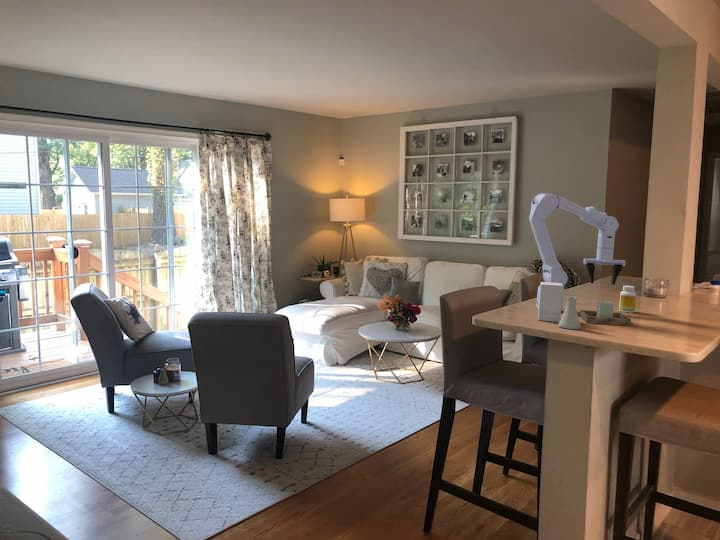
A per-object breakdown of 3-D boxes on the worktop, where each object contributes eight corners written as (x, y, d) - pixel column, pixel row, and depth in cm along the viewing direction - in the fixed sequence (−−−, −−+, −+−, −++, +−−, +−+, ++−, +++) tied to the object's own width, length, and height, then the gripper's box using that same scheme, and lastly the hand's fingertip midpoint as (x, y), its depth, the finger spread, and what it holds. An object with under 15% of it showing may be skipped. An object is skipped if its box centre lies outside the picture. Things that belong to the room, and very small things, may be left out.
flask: (579, 331, 180) (581, 300, 179) (555, 327, 184) (557, 297, 183) (583, 327, 186) (585, 297, 185) (560, 323, 190) (562, 294, 189)
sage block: (598, 320, 196) (600, 303, 195) (596, 317, 200) (597, 300, 199) (612, 321, 195) (613, 303, 194) (609, 318, 199) (610, 301, 198)
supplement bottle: (636, 313, 213) (638, 287, 212) (620, 312, 214) (623, 286, 213) (632, 310, 219) (634, 285, 217) (617, 309, 220) (619, 284, 218)
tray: (586, 323, 193) (586, 316, 193) (579, 316, 204) (580, 310, 204) (630, 325, 190) (631, 319, 190) (620, 318, 202) (621, 312, 202)
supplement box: (560, 322, 192) (563, 285, 191) (537, 320, 194) (540, 284, 193) (559, 318, 199) (562, 282, 198) (537, 316, 201) (540, 281, 200)
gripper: (587, 247, 211) (584, 284, 212) (628, 249, 208) (625, 286, 210) (583, 246, 218) (580, 281, 219) (623, 248, 215) (620, 283, 217)
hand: (602, 283), depth 215 cm, fingers open, 7 cm apart
